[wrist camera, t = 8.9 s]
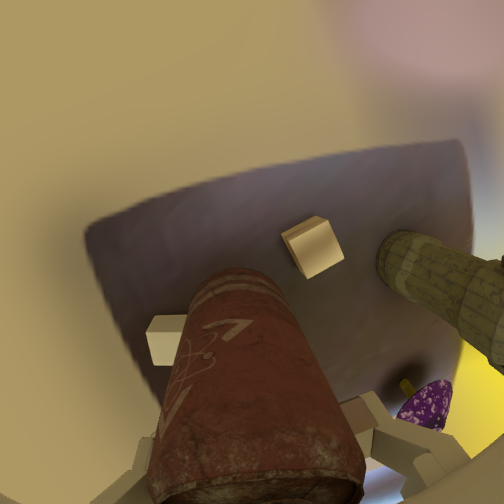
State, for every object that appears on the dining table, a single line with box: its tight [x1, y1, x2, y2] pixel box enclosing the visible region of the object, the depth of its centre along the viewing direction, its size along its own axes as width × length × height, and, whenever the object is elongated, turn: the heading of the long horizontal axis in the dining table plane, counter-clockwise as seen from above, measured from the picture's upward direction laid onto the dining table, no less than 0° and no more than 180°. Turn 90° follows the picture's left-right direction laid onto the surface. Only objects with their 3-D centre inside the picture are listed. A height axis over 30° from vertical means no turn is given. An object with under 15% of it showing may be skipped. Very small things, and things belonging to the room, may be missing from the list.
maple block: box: [281, 216, 344, 279], centre depth 33 cm, size 5×5×5 cm
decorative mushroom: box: [396, 379, 453, 432], centre depth 36 cm, size 12×12×15 cm
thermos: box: [376, 230, 504, 375], centre depth 21 cm, size 9×12×35 cm
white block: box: [146, 314, 187, 365], centre depth 35 cm, size 5×5×5 cm
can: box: [147, 268, 366, 504], centre depth 11 cm, size 6×6×14 cm
